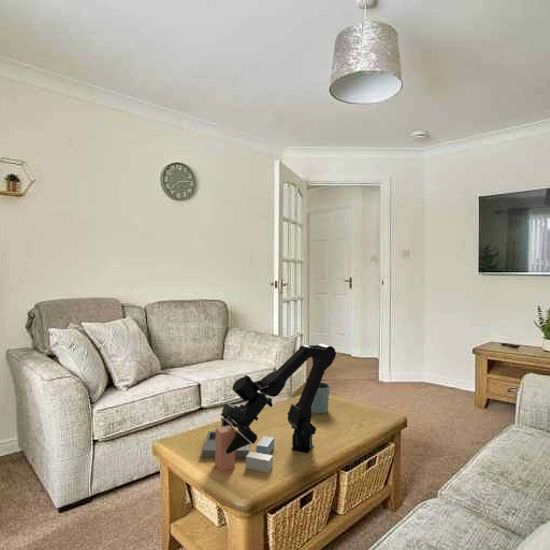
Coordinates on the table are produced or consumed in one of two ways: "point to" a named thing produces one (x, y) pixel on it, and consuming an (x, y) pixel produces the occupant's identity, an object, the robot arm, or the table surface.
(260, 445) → the slate brick
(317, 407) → the blue-grey bin
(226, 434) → the column
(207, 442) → the tray
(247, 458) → the grey brick
